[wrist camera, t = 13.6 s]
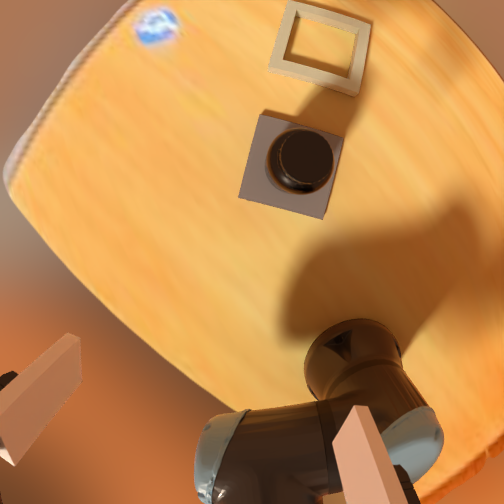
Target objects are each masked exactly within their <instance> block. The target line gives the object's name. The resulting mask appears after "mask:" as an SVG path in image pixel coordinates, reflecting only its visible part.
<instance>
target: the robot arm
mask: <svg viewBox="0 0 504 504" xmlns="http://www.w3.org/2000/svg"><path fill="white" fill-rule="evenodd" d="M304 374H305V379H306V383H307V386H308V389H309V391H310V392H311V394H312V395H313V396H314V397H315V398H316V399H317V400H318V401H314V402H308V403H303V404H297V405H290V406H284V407H277V408H269V409H261V410H250V409H246V410H244V411H242V412H235V413H228V414H220V415H217V416H215V417H213V418H212V419H210V420H209V421H208V423H207V424H206V425H205V427H204V429H203V431H202V433H201V435H200V438H199V441H198V445H197V449H196V455H195V464H194V481H195V488H196V491H198V497H199V499H200V501H202V502H203V503H205V504H323V498H322V496H324V495H328V494H333V493H338V492H342V491H344V495H345V499H346V503H347V504H421V503H420V501H419V499H418V496H417V494H416V491H415V489H413V488H414V487H413V484H414V483H415V482H416V481H418V480H419V479H420V478H421V477H422V476H423V475H424V474H425V473H426V472H427V471H428V470H429V469H430V468H431V467H432V466H433V464H434V463H435V462H436V460H437V459H438V457H439V455H440V453H441V450H442V448H443V444H444V433H443V430H442V428H441V426H440V424H439V422H438V420H437V418H436V415H435V412H434V410H433V409H432V408H431V407H429V405H428V404H427V402H426V401H425V400H424V398H423V397H422V395H421V394H420V392H419V391H418V390H417V388H416V387H415V385H414V384H413V383H412V381H411V380H410V378H409V377H408V376H407V374H406V373H405V371H404V370H403V366H402V360H401V352H400V348H399V345H398V342H397V341H396V339H395V337H394V336H393V335H392V334H391V332H390V331H389V330H388V329H387V328H386V327H385V326H383V325H382V324H380V323H378V322H376V321H373V320H368V319H354V320H349V321H345V322H342V323H339V324H337V325H335V326H333V327H331V328H330V329H328V330H327V331H325V332H324V333H323V334H321V335H320V336H319V337H318V338H317V339H316V340H315V342H314V343H313V344H312V346H311V347H310V349H309V351H308V353H307V355H306V358H305V362H304ZM81 383H82V370H81V345H80V338H79V337H77V336H75V335H72V334H70V333H66V334H65V335H64V336H63V337H61V338H60V339H59V340H58V341H57V342H56V343H54V344H53V345H52V346H51V347H50V348H49V349H47V350H46V351H45V352H44V353H43V354H42V355H40V356H39V357H38V358H37V359H36V360H35V361H34V362H32V363H31V364H30V365H29V366H28V367H27V368H26V369H24V370H23V371H22V372H21V373H20V374H17V373H15V372H14V371H11V372H8V373H6V374H3V375H2V376H1V377H0V456H1V457H2V458H4V459H5V460H6V461H8V462H9V463H11V464H12V465H14V466H16V465H17V463H18V462H19V461H20V459H21V458H22V457H23V455H24V454H25V453H26V451H27V450H28V449H29V447H30V446H31V445H32V444H33V442H34V441H35V440H36V438H37V437H38V436H39V435H40V433H41V432H42V431H43V429H44V428H45V427H46V426H47V424H48V423H49V422H50V421H51V419H52V418H53V417H54V416H55V414H56V413H57V412H58V411H59V409H60V408H61V407H62V406H63V404H64V403H65V402H66V401H67V400H68V398H69V397H70V396H71V395H72V393H73V392H74V391H75V390H76V389H77V387H78V386H79V385H80V384H81ZM0 504H3V503H2V498H1V493H0Z"/></svg>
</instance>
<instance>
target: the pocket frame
mask: <svg viewBox="0 0 504 504" xmlns="http://www.w3.org/2000/svg"><path fill="white" fill-rule="evenodd" d="M295 16H296V17H301V18H304V19H308V20H312V21H316V22H319V23H323V24H326V25H329V26H333V27H336V28H339V29H342V30H345V31H348V32H351V33H354V34H356V37H355V42H354V48H353V53H352V58H351V63H350V68H349V73H348V78H344V77H341V76H338V75H335V74H332V73H329V72H326V71H323V70H319V69H316V68H312V67H309V66H305V65H302V64H298V63H294V62H290V61H286V60H283V58H284V54H285V51H286V47H287V44H288V40H289V36H290V33H291V29H292V26H293V22H294V19H295ZM370 28H371V25H370V24H368V23H365V22H362V21H360V20H357V19H354V18H351V17H348V16H345V15H342V14H339V13H336V12H333V11H329V10H326V9H323V8H319V7H315V6H312V5H308V4H304V3H300V2H295V1H291V0H288V2H287V5H286V8H285V11H284V15H283V18H282V21H281V25H280V28H279V31H278V35H277V38H276V41H275V45H274V48H273V52H272V55H271V58H270V62H269V65H268V72H270V73H275V74H279V75H283V76H287V77H291V78H295V79H299V80H302V81H306V82H309V83H313V84H316V85H320V86H323V87H326V88H329V89H332V90H336V91H339V92H342V93H345V94H348V95H350V96H353V97H355V96H356V95H357V94H358V93H359V90H360V85H361V80H362V75H363V69H364V64H365V58H366V53H367V47H368V41H369V34H370Z"/></svg>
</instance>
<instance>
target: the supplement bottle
mask: <svg viewBox="0 0 504 504" xmlns="http://www.w3.org/2000/svg"><path fill="white" fill-rule="evenodd" d="M334 165H335V160H334V154H333V151H332V148H331V146H330V144H329V143H328V141H327V140H326V139H325V138H324V137H323V136H322V135H320V134H319V133H317V132H315V131H313V130H311V129H307V128H292V129H288V130H286V131H284V132H282V133H280V134H279V135H278V136H277V137H276V138H275V139H274V140H273V141H272V143H271V145H270V146H269V149H268V152H267V156H266V160H265V173H266V176H267V178H268V180H269V182H270V183H271V184H272V185H273V186H274V187H275V188H276V189H278V190H279V191H281V192H284V193H287V194H295V195H307V194H311V193H314V192H316V191H318V190H320V189H321V188H323V187H324V186H325V185H326V184H327V183H328V181H329V180H330V178H331V176H332V174H333V171H334Z"/></svg>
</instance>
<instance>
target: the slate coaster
mask: <svg viewBox="0 0 504 504" xmlns="http://www.w3.org/2000/svg"><path fill="white" fill-rule="evenodd" d="M292 128H307V129H311V130H313V131H315V132H317V133H319V134H320V135H322V136H323V137H324V138H325V139H326V140H327V141H328V143H329V144H330V146H331V148H332V151H333V154H334V160H335V165H334V171H333V174H332V176H331V178H330V180H329V181H328V183H327V184H326V185H325V186H324V187H323V188H321V189H320V190H318V191H316V192H314V193H311V194H307V195H295V194H287V193H284V192H281V191H279V190H278V189H276V188H275V187H274V186H273V185H272V184H271V183H270V182H269V180H268V178H267V176H266V173H265V160H266V156H267V152H268V149H269V146H270V145H271V143H272V141H273V140H274V139H275V138H276V137H277V136H278V135H279V134H280V133H282V132H284V131H286V130H288V129H292ZM342 142H343V138H342V137H339V136H336V135H333V134H330V133H327V132H324V131H320V130H317V129H314V128H310V127H307V126H303V125H300V124H296V123H292V122H289V121H285V120H281V119H277V118H273V117H269V116H265V115H261V114H260V115H259V119H258V122H257V126H256V130H255V134H254V137H253V141H252V145H251V149H250V153H249V157H248V160H247V164H246V168H245V172H244V176H243V180H242V184H241V188H240V192H239V196H238V198H242V199H246V200H250V201H254V202H258V203H262V204H266V205H269V206H273V207H277V208H281V209H285V210H289V211H292V212H296V213H300V214H303V215H307V216H311V217H314V218H318V219H321V220H323V217H324V213H325V210H326V206H327V202H328V198H329V195H330V191H331V187H332V183H333V179H334V175H335V171H336V167H337V163H338V159H339V155H340V151H341V147H342Z"/></svg>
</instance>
